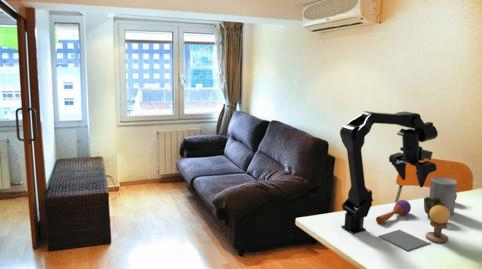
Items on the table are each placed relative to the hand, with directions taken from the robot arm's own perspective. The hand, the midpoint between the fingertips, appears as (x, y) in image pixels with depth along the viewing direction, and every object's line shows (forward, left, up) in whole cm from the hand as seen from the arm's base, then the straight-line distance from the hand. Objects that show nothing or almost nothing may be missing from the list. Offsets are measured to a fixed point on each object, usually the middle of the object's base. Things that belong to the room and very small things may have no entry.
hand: (412, 183), depth 148 cm
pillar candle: (+20, 0, -15) cm, 25 cm away
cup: (+10, -3, -15) cm, 18 cm away
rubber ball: (-5, -15, -6) cm, 17 cm away
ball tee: (-5, -15, -15) cm, 22 cm away
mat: (-16, -10, -15) cm, 25 cm away
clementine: (+33, +5, -15) cm, 36 cm away
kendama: (-3, +5, -16) cm, 17 cm away
